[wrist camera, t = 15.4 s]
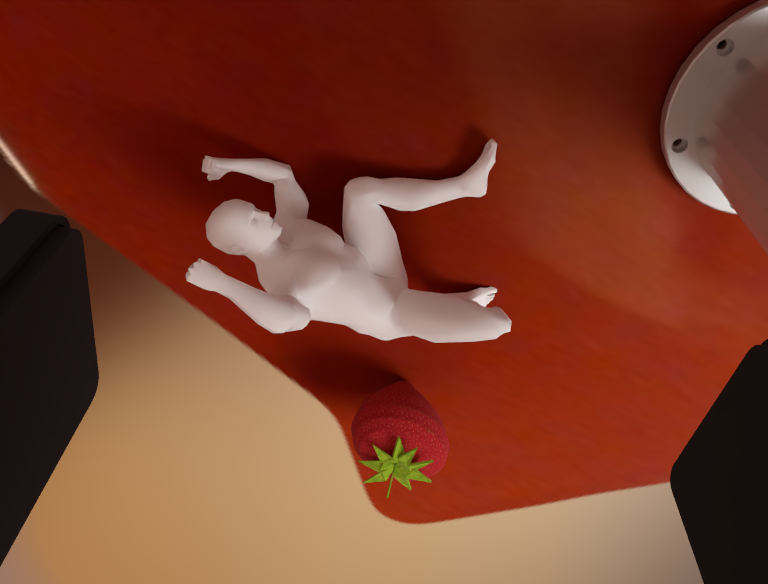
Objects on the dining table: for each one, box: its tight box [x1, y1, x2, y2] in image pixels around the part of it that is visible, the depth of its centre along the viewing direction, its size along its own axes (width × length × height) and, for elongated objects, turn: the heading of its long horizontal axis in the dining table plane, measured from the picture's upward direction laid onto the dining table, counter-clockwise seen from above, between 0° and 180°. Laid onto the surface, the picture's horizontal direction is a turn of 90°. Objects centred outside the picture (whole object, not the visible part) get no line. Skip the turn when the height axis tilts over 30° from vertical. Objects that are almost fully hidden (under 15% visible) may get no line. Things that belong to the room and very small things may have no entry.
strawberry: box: [351, 381, 449, 498], centre depth 48 cm, size 6×8×10 cm
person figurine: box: [186, 139, 512, 343], centre depth 40 cm, size 13×13×18 cm
